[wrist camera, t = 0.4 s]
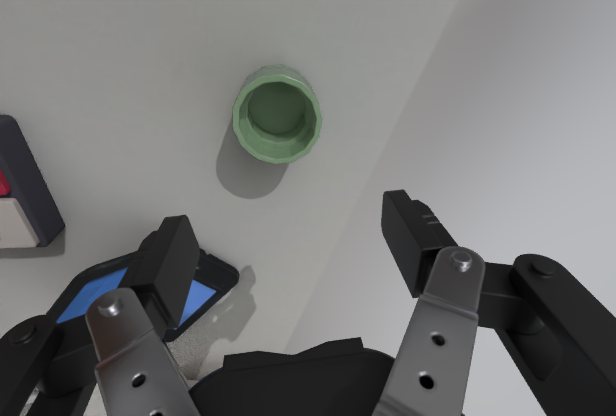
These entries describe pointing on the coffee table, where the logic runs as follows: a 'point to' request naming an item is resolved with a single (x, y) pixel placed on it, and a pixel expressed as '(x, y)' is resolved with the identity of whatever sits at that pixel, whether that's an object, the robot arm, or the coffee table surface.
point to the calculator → (23, 194)
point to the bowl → (277, 115)
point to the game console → (106, 276)
